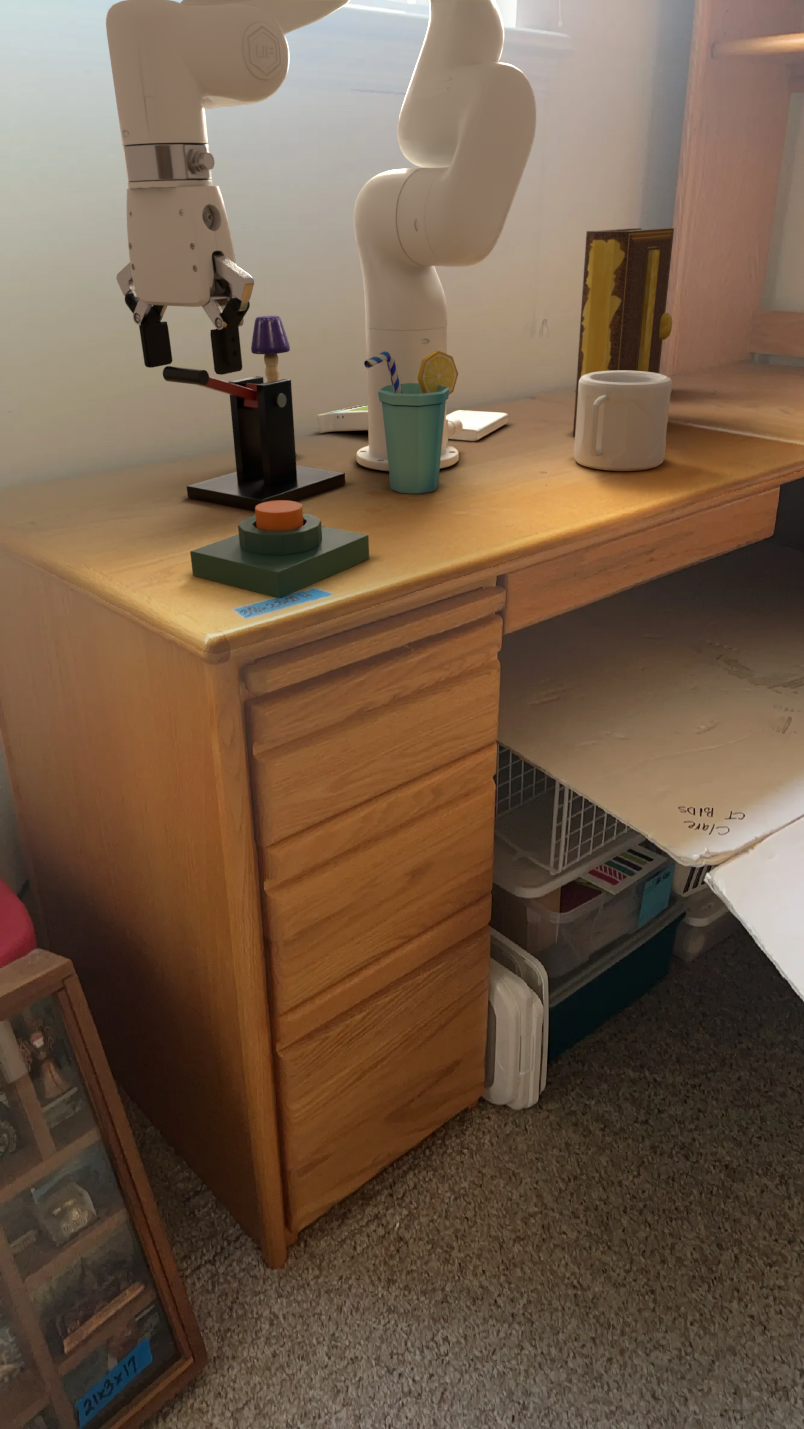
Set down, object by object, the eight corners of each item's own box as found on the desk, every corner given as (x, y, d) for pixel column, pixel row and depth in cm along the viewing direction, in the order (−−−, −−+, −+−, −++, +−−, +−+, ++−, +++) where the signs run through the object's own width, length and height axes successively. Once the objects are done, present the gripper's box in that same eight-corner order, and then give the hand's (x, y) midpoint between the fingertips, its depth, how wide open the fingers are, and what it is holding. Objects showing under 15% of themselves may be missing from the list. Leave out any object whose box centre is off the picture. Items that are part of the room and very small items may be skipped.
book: (621, 441, 130) (639, 231, 119) (560, 435, 134) (572, 231, 123) (667, 413, 147) (687, 227, 136) (612, 409, 151) (627, 227, 140)
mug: (596, 448, 126) (602, 367, 122) (676, 458, 121) (686, 373, 116) (547, 470, 117) (552, 382, 112) (633, 481, 111) (641, 389, 107)
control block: (285, 540, 93) (282, 498, 91) (369, 558, 88) (368, 514, 86) (192, 575, 84) (187, 530, 83) (280, 598, 79) (276, 550, 77)
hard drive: (455, 409, 144) (421, 424, 134) (508, 412, 141) (478, 428, 131) (455, 421, 145) (421, 436, 135) (508, 424, 142) (477, 441, 132)
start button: (278, 517, 87) (276, 497, 86) (312, 524, 85) (311, 504, 84) (246, 528, 84) (245, 508, 83) (282, 535, 82) (280, 515, 81)
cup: (399, 508, 102) (397, 356, 96) (342, 497, 107) (336, 351, 100) (473, 481, 112) (476, 341, 105) (418, 472, 116) (418, 337, 110)
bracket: (262, 512, 102) (252, 394, 96) (187, 497, 107) (174, 385, 102) (345, 484, 112) (341, 375, 106) (273, 471, 118) (266, 368, 112)
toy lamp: (253, 460, 123) (241, 317, 116) (271, 452, 127) (260, 313, 119) (286, 463, 122) (277, 318, 114) (304, 455, 125) (295, 314, 118)
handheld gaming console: (400, 409, 128) (315, 412, 137) (403, 431, 129) (318, 433, 138) (449, 397, 136) (365, 401, 145) (451, 418, 137) (368, 421, 146)
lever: (196, 388, 94) (200, 362, 94) (160, 384, 97) (164, 359, 96) (285, 414, 105) (288, 391, 105) (251, 409, 108) (254, 387, 107)
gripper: (268, 165, 87) (284, 369, 95) (136, 172, 96) (161, 358, 104) (207, 165, 81) (230, 381, 89) (73, 173, 90) (104, 368, 98)
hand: (193, 368), depth 96 cm, fingers open, 9 cm apart
